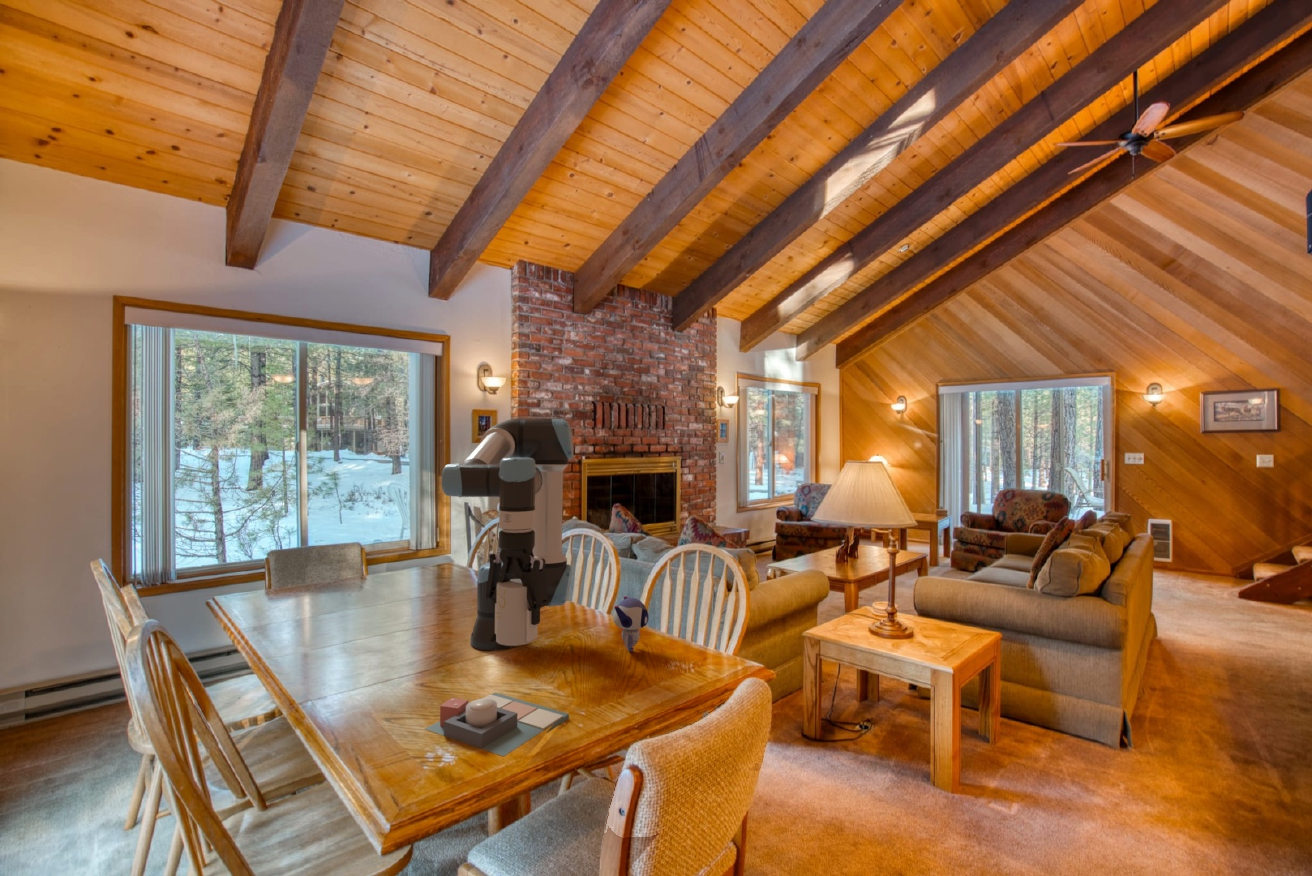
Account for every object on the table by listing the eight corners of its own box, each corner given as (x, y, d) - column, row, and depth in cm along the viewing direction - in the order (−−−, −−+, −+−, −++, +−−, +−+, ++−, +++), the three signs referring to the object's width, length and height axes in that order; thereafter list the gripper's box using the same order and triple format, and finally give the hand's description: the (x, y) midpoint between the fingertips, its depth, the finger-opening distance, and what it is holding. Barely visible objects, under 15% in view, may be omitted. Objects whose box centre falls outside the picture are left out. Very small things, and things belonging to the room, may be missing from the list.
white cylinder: (499, 633, 136) (500, 578, 136) (537, 632, 137) (537, 578, 137) (493, 646, 128) (493, 588, 128) (532, 645, 129) (533, 587, 129)
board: (424, 733, 125) (424, 714, 124) (495, 697, 142) (495, 680, 142) (503, 761, 114) (503, 741, 114) (568, 718, 132) (569, 700, 132)
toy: (643, 660, 166) (644, 604, 166) (608, 656, 168) (608, 601, 168) (651, 646, 177) (652, 594, 176) (618, 643, 179) (619, 592, 178)
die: (440, 725, 126) (440, 704, 126) (451, 716, 130) (451, 696, 130) (457, 728, 125) (457, 706, 125) (468, 719, 129) (468, 698, 129)
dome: (459, 727, 123) (459, 705, 123) (481, 715, 128) (481, 694, 128) (481, 735, 120) (481, 712, 120) (503, 722, 125) (503, 701, 125)
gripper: (468, 527, 134) (467, 632, 134) (544, 536, 124) (543, 649, 124) (493, 523, 141) (491, 623, 141) (567, 531, 130) (565, 639, 131)
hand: (515, 635), depth 132 cm, fingers closed on white cylinder, 8 cm apart
